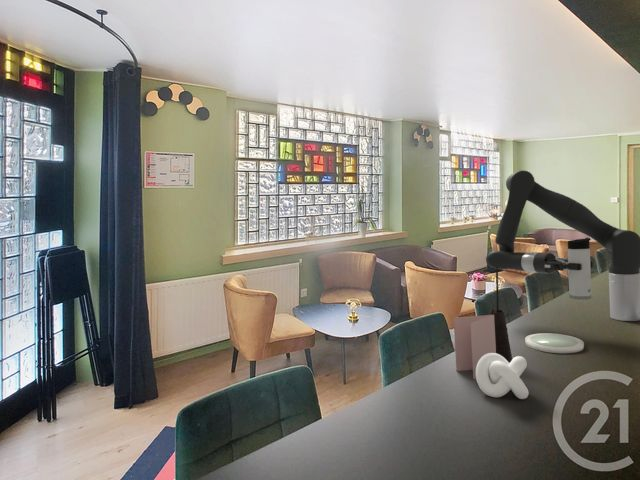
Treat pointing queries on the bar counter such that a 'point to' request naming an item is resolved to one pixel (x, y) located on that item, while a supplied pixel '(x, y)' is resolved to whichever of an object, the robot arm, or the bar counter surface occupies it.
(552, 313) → the bar counter surface
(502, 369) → the white decorative knot
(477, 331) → the greeting card
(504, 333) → the butter churn
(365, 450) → the bar counter surface
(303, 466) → the bar counter surface
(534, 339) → the plate
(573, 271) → the travel mug
